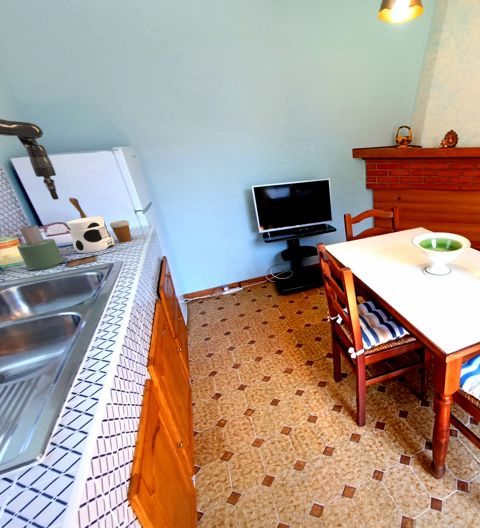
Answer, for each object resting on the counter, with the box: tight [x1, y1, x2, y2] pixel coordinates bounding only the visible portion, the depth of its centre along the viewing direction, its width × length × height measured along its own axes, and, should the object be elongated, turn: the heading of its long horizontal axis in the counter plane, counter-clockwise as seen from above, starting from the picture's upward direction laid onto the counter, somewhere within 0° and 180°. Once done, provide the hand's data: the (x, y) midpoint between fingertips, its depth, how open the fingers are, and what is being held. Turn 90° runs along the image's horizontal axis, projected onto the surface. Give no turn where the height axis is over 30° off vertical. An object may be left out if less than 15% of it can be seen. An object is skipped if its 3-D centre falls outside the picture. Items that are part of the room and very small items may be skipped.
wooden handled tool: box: [68, 197, 88, 219], centre depth 179 cm, size 7×19×28 cm, turn 44°
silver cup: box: [19, 224, 45, 245], centre depth 143 cm, size 6×6×8 cm
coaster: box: [66, 255, 98, 268], centre depth 152 cm, size 11×11×1 cm
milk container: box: [66, 216, 115, 255], centre depth 164 cm, size 17×17×18 cm
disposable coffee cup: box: [109, 219, 133, 244], centre depth 182 cm, size 10×10×12 cm
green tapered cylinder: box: [16, 238, 66, 272], centre depth 146 cm, size 14×14×12 cm
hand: (55, 198), depth 158 cm, fingers open, 8 cm apart
